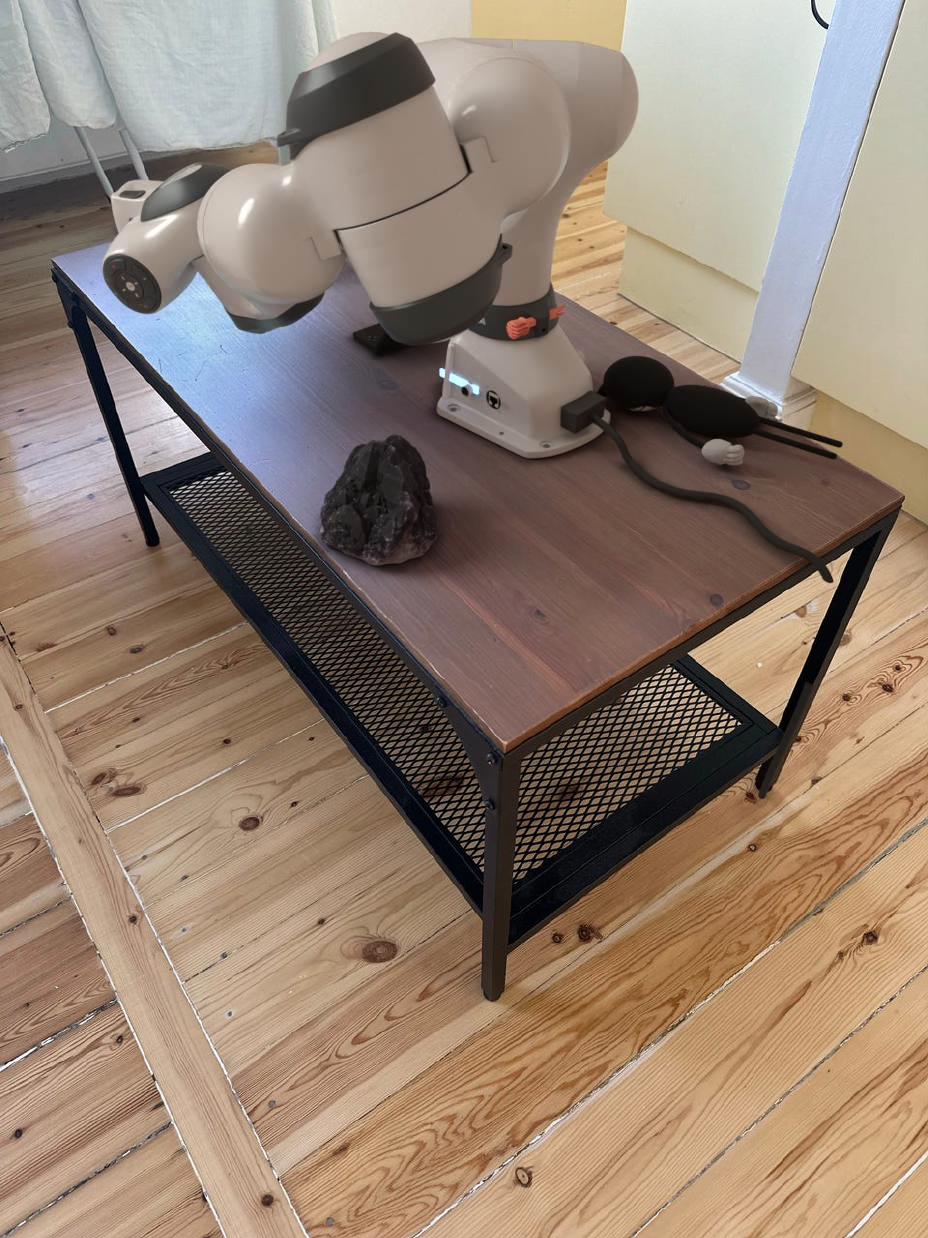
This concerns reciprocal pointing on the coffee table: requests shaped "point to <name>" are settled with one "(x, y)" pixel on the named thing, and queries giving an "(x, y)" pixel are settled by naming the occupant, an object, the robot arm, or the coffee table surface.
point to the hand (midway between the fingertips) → (222, 183)
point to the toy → (700, 409)
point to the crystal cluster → (381, 504)
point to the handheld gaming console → (376, 339)
